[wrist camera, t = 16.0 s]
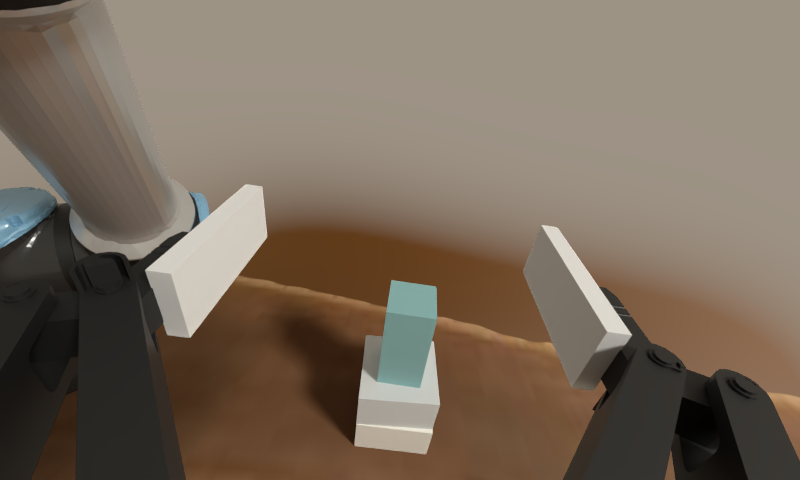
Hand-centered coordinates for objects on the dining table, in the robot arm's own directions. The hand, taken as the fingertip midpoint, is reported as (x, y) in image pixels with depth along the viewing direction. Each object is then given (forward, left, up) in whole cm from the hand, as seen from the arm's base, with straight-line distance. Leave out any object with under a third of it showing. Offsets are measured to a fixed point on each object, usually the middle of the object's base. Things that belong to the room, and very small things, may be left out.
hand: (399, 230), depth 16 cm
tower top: (-7, +11, -31) cm, 34 cm away
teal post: (-7, +11, -26) cm, 29 cm away
